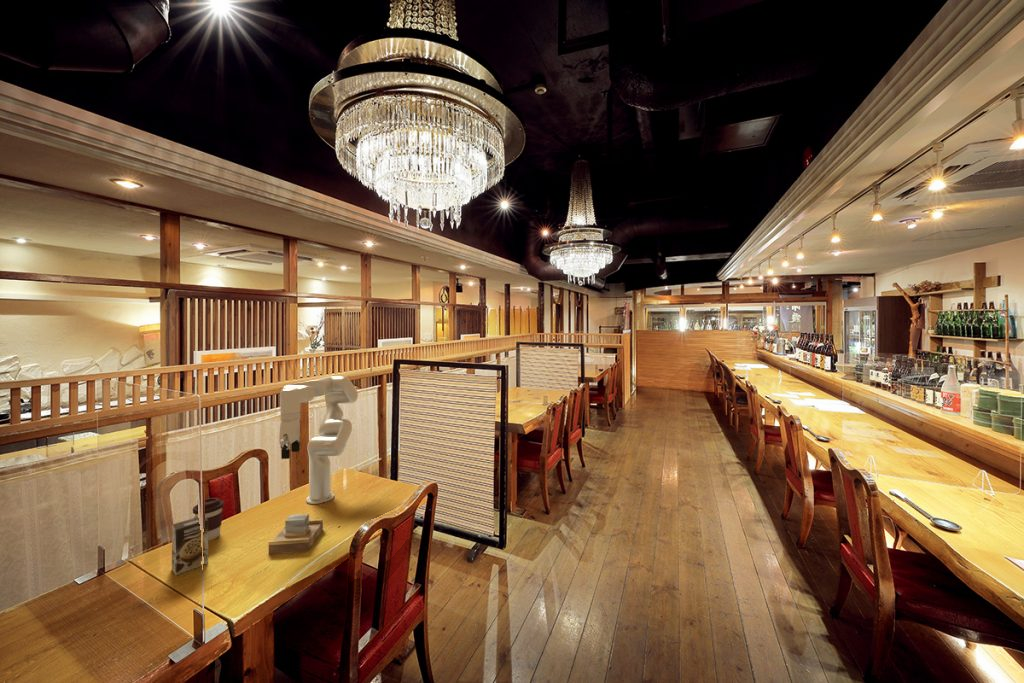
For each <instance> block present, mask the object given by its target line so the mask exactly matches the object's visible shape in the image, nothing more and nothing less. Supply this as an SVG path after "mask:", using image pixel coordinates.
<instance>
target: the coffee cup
mask: <svg viewBox="0 0 1024 683" xmlns="http://www.w3.org/2000/svg"><path fill="white" fill-rule="evenodd" d="M204 500H205V517H206V518H207V519H208V542H209V541H212V540H215V539H217V538H218V537H219V536H220V535H221V527H222V521H223V520H222V519H223V507H225V506H224V505H225V501H224V500H222V499H220V498H218V497H210V498H205V499H204ZM192 514H194V517H193V518H196V517H198V503H197V504H196V505H194V506H193V507H192Z"/></svg>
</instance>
